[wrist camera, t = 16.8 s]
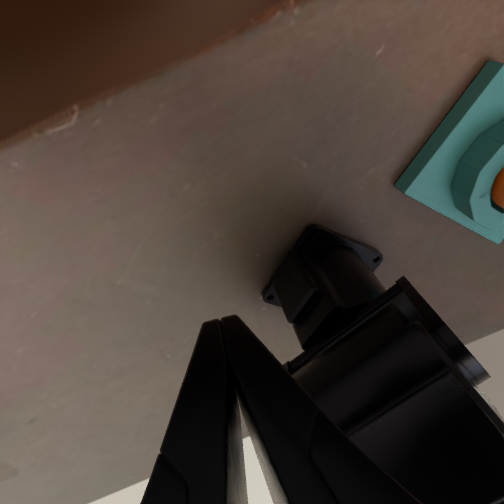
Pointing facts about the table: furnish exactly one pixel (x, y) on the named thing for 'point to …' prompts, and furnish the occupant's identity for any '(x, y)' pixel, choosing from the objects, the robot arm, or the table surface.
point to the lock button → (498, 189)
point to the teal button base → (465, 158)
